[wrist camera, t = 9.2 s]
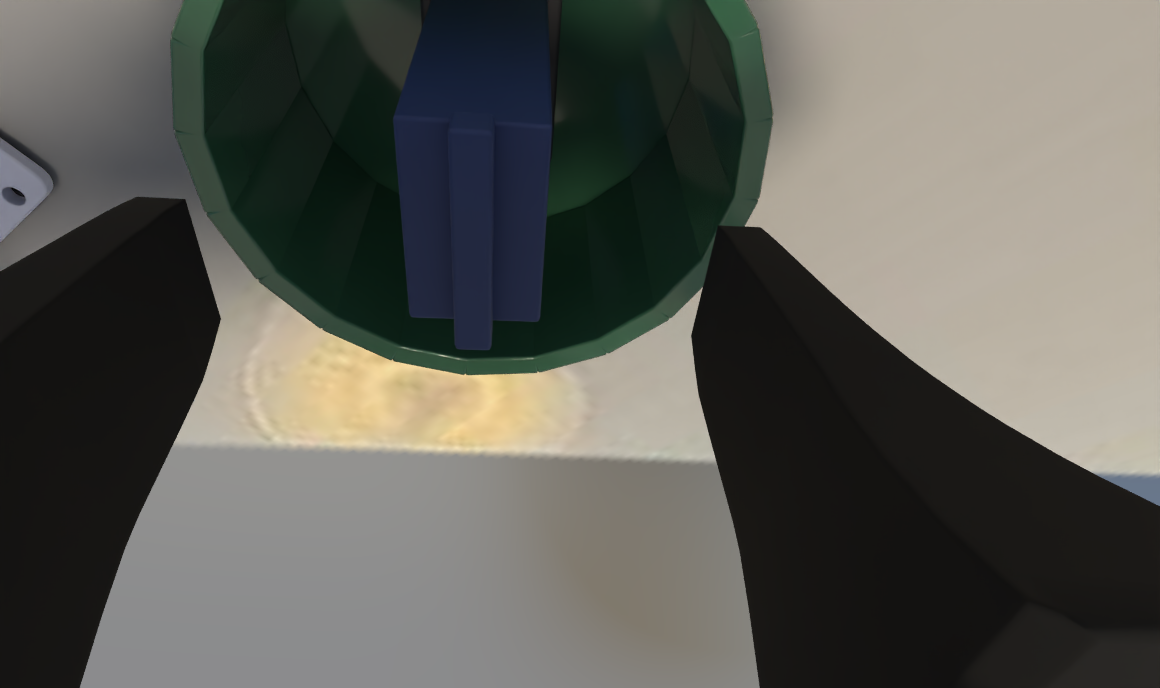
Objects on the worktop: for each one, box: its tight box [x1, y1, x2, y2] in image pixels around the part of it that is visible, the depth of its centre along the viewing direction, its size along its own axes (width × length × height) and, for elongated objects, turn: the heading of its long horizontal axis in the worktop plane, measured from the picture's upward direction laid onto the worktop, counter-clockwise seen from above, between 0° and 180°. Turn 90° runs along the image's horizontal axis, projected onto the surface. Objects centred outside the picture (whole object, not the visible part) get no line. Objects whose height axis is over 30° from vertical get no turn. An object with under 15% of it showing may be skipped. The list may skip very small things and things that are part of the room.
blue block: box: [393, 0, 562, 350], centre depth 14 cm, size 4×3×8 cm
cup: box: [170, 0, 773, 375], centre depth 15 cm, size 10×10×6 cm
